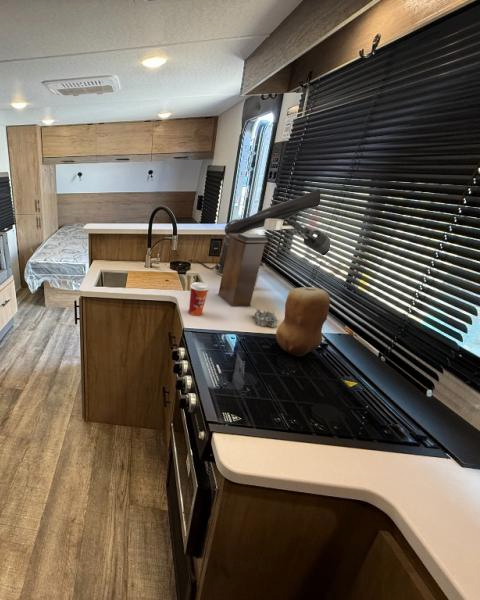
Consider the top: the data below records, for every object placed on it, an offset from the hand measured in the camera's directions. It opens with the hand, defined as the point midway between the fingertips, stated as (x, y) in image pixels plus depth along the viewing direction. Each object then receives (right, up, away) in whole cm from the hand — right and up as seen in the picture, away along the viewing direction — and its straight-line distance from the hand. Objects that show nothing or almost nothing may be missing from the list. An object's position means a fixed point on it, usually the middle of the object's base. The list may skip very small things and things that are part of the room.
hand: (292, 223), depth 138 cm
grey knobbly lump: (-16, -44, -5) cm, 47 cm away
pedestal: (-19, -35, +16) cm, 42 cm away
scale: (-18, -7, -1) cm, 20 cm away
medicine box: (-4, -28, +31) cm, 42 cm away
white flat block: (-3, -2, +1) cm, 4 cm away
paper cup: (-43, -41, +3) cm, 59 cm away
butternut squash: (-19, -54, -27) cm, 63 cm away
